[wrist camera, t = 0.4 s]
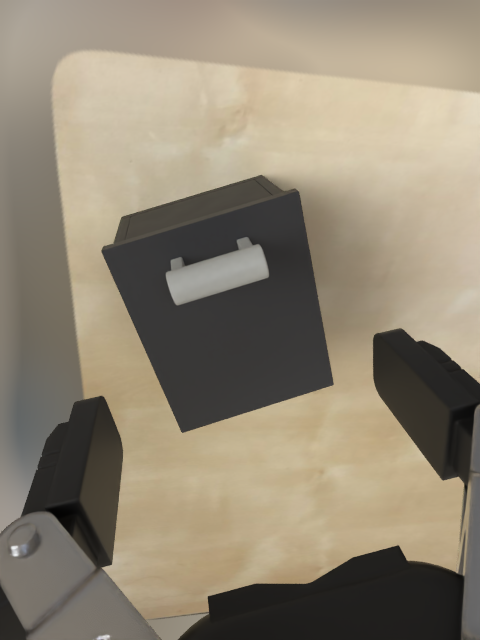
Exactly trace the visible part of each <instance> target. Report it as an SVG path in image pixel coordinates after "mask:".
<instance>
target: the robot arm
mask: <svg viewBox="0 0 480 640" xmlns="http://www.w3.org/2000/svg"><path fill="white" fill-rule="evenodd" d="M373 377H374V383H375V387H376V389H377V392H378V394H379V396H380V397H381V398H382V400H383V401H384V402H385V404H386V405H387V406H388V408H389V409H390V411H391V412H392V413H393V415H394V416H395V417H396V419H397V420H398V421H399V423H400V424H401V425H402V427H403V428H404V429H405V431H406V432H407V433H408V435H409V436H410V437H411V439H412V440H413V441H414V443H415V444H416V445H417V447H418V448H419V450H420V451H421V452H422V454H423V455H424V456H425V458H426V459H427V460H428V462H429V463H430V464H431V466H432V467H433V468H434V470H435V471H436V472H437V474H438V475H439V476H440V478H441V479H442V480H447V479H451V478H455V477H460V479H461V480H462V481H463V482H464V489H463V500H462V512H461V523H460V535H459V547H458V558H457V567H456V572H454V571H452V570H449V569H446V568H444V567H441V566H438V565H434V564H430V563H425V562H418V561H407V560H406V558H405V556H404V554H403V552H402V550H401V549H400V547H399V545H398V546H394V547H391V548H387V549H383V550H379V551H376V552H372V553H368V554H365V555H361V556H357V557H353V558H352V559H350V560H348V561H347V562H345V563H343V564H342V565H340V566H338V567H337V568H335V569H333V570H332V571H330V572H328V573H327V574H325V575H323V576H322V577H320V578H318V579H317V580H315V581H313V582H311V583H308V584H253V585H249V586H245V587H242V588H238V589H234V590H230V591H227V592H223V593H219V594H216V595H212V596H208V604H209V614H208V615H206V616H205V617H203V618H202V619H200V620H199V621H198V622H196V623H195V624H194V625H192V626H191V627H190V628H189V629H188V630H187V631H186V632H185V633H184V634H183V635H182V636H181V637H180V638H179V639H178V640H480V384H479V383H478V382H477V381H476V380H475V379H474V378H473V377H471V376H470V375H469V374H468V373H467V372H466V371H465V370H464V369H461V367H460V366H459V365H458V364H457V363H456V362H455V361H452V360H451V358H450V357H449V356H448V355H447V354H445V353H444V352H443V351H442V350H441V349H440V348H438V347H436V346H434V345H431V344H429V343H427V342H425V341H418V342H416V341H415V340H414V339H413V338H412V337H411V336H410V335H408V334H407V333H406V332H405V331H404V330H403V329H401V328H399V329H395V330H390V331H386V332H382V333H377V334H375V335H374V338H373ZM122 462H123V448H122V442H121V438H120V435H119V432H118V430H117V427H116V425H115V422H114V420H113V417H112V415H111V412H110V409H109V407H108V404H107V402H106V400H105V398H104V397H103V396H99V397H94V398H90V399H85V400H81V401H77V402H75V403H74V405H73V408H72V412H71V415H70V419H69V422H66V423H61V424H58V426H57V427H56V428H55V429H54V431H53V432H52V433H51V434H50V436H49V437H48V438H47V440H46V443H45V446H44V449H43V452H42V457H41V458H40V461H39V464H38V470H36V473H35V476H34V479H33V482H32V485H31V488H30V491H29V494H28V497H27V500H26V503H25V506H24V509H23V512H22V515H21V517H20V518H18V519H17V520H15V521H14V522H12V523H11V524H10V525H8V527H6V528H5V529H4V530H3V531H2V532H1V533H0V640H162V639H161V638H160V637H159V636H158V635H157V634H156V632H155V631H154V630H153V629H152V627H151V626H150V625H149V624H148V623H147V621H146V620H145V619H144V618H143V617H142V615H141V614H140V613H139V612H138V611H137V609H136V608H135V607H134V606H133V605H132V603H131V602H130V601H129V600H128V598H127V597H126V596H125V595H124V594H123V592H122V591H121V590H120V589H119V588H118V586H117V585H116V584H115V583H114V582H113V580H112V579H111V578H110V577H109V576H108V574H107V573H106V572H105V571H104V570H103V569H102V568H101V567H105V566H109V565H112V559H113V549H114V540H115V530H116V520H117V510H118V501H119V491H120V481H121V471H122Z"/></svg>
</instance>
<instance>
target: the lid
mask: <svg viewBox="0 0 480 640" xmlns="http://www.w3.org/2000/svg"><path fill="white" fill-rule="evenodd" d="M102 254H103V256H104V258H105V261H106V263H107V265H108V267H109V270H110V272H111V274H112V276H113V279H114V281H115V283H116V285H117V288H118V290H119V292H120V294H121V297H122V299H123V301H124V303H125V306H126V308H127V310H128V312H129V315H130V317H131V319H132V321H133V324H134V326H135V328H136V330H137V333H138V335H139V337H140V339H141V342H142V344H143V346H144V348H145V351H146V353H147V355H148V357H149V360H150V362H151V364H152V367H153V369H154V371H155V373H156V376H157V378H158V380H159V382H160V385H161V387H162V389H163V391H164V394H165V396H166V398H167V400H168V403H169V405H170V407H171V409H172V412H173V414H174V416H175V418H176V421H177V423H178V425H179V427H180V430H181V432H182V433H183V432H187V431H190V430H193V429H196V428H199V427H202V426H206V425H209V424H212V423H215V422H218V421H221V420H224V419H228V418H231V417H234V416H237V415H240V414H243V413H247V412H250V411H253V410H256V409H259V408H262V407H266V406H269V405H272V404H275V403H278V402H281V401H284V400H288V399H291V398H294V397H297V396H300V395H303V394H307V393H310V392H313V391H316V390H319V389H322V388H326V387H329V386H332V385H334V383H333V378H332V372H331V367H330V361H329V356H328V350H327V345H326V339H325V334H324V328H323V322H322V317H321V311H320V306H319V300H318V295H317V289H316V284H315V278H314V273H313V267H312V261H311V256H310V250H309V245H308V239H307V234H306V228H305V223H304V217H303V212H302V206H301V200H300V195H299V191H298V190H296V189H292V190H289V191H285V192H282V193H279V194H275V195H272V196H269V197H266V198H262V199H259V200H256V201H252V202H249V203H246V204H242V205H239V206H236V207H233V208H229V209H226V210H223V211H219V212H216V213H213V214H209V215H206V216H203V217H199V218H196V219H193V220H190V221H186V222H183V223H180V224H176V225H173V226H170V227H166V228H163V229H160V230H157V231H153V232H150V233H147V234H143V235H140V236H137V237H133V238H130V239H127V240H124V241H120V242H117V243H114V244H110V245H107V246H104V247H103V248H102Z"/></svg>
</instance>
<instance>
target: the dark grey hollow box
mask: <svg viewBox="0 0 480 640" xmlns="http://www.w3.org/2000/svg"><path fill="white" fill-rule="evenodd" d="M282 192H284V191H282V190H281V189H280V188H278V187H277V186H276V185H274V184H273V183H272V182H270V181H269V180H268V179H267V178H265V177H264V176H262V175H260V176H257V177H253V178H250V179H247V180H243V181H240V182H237V183H233V184H230V185H227V186H223V187H220V188H217V189H214V190H210V191H207V192H204V193H200V194H197V195H194V196H190V197H187V198H184V199H180V200H177V201H174V202H170V203H167V204H164V205H160V206H157V207H154V208H150V209H147V210H144V211H140V212H137V213H134V214H130V215H127V216H124V217H122V218H121V221H120V224H119V227H118V231H117V234H116V237H115V241H114V243H117V242H120V241H124V240H127V239H130V238H133V237H137V236H140V235H143V234H147V233H150V232H153V231H157V230H160V229H163V228H166V227H170V226H173V225H176V224H180V223H183V222H186V221H190V220H193V219H196V218H199V217H203V216H206V215H209V214H213V213H216V212H219V211H223V210H226V209H229V208H233V207H236V206H239V205H242V204H246V203H249V202H252V201H256V200H259V199H262V198H266V197H269V196H272V195H275V194H279V193H282Z"/></svg>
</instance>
